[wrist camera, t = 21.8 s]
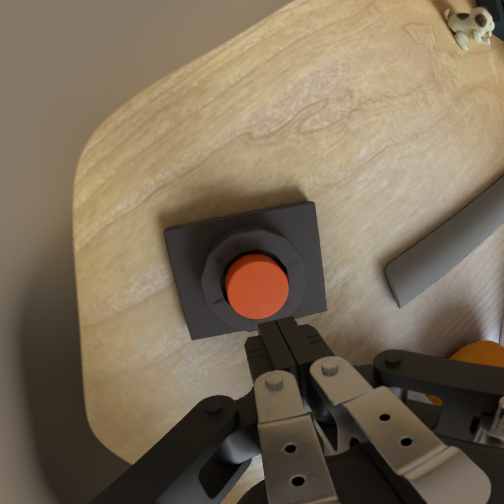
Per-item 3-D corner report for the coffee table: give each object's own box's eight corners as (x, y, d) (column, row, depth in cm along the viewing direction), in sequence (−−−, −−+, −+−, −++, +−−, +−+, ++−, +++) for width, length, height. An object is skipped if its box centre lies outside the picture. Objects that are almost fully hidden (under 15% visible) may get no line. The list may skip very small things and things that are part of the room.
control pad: (192, 333, 23) (191, 353, 20) (165, 228, 21) (159, 236, 18) (321, 304, 24) (335, 321, 21) (309, 200, 22) (324, 204, 19)
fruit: (397, 416, 29) (442, 476, 19) (448, 323, 27) (514, 371, 17) (457, 412, 31) (499, 456, 22) (500, 334, 29) (554, 370, 20)
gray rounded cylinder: (517, 205, 25) (528, 208, 23) (393, 309, 25) (404, 317, 23) (509, 169, 24) (521, 171, 22) (378, 269, 24) (389, 276, 22)
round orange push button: (231, 313, 20) (233, 325, 19) (220, 259, 19) (221, 268, 18) (285, 301, 21) (292, 312, 19) (278, 248, 20) (284, 255, 18)
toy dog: (466, 55, 21) (501, 45, 16) (435, 16, 19) (468, -1, 15) (477, 41, 20) (509, 31, 15) (448, 4, 19) (478, -12, 14)
